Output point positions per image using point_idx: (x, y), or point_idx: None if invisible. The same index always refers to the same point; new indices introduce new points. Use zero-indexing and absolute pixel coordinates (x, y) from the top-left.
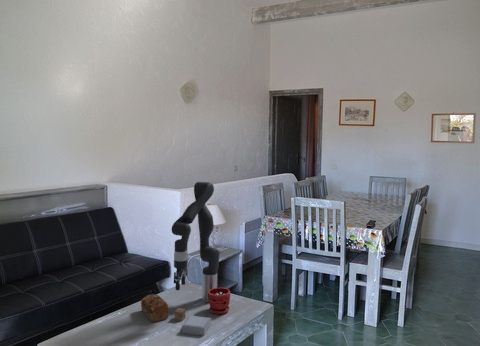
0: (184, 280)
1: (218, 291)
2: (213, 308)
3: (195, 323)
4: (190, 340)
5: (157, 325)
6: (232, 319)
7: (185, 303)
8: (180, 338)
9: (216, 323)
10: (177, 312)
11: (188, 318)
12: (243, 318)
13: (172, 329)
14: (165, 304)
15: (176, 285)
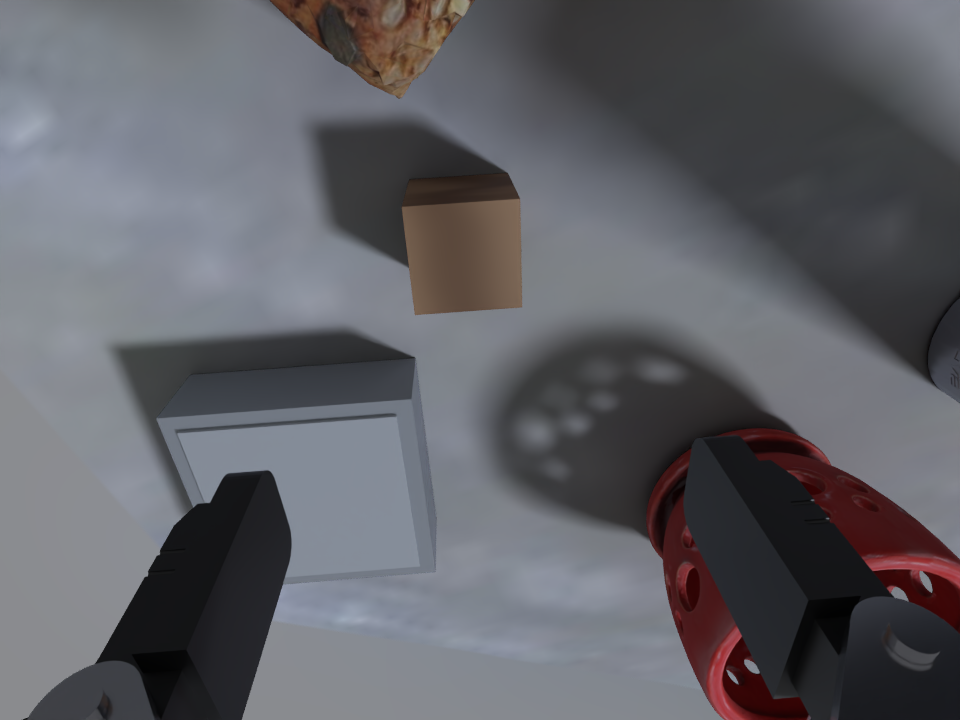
0: (740, 615)
1: (941, 578)
2: (676, 506)
3: None
4: (119, 480)
5: (175, 26)
6: (584, 604)
7: (916, 93)
8: (91, 402)
9: (482, 541)
10: (407, 242)
11: (333, 412)
12: (618, 649)
13: (194, 259)
14: (333, 53)
15: (130, 636)
